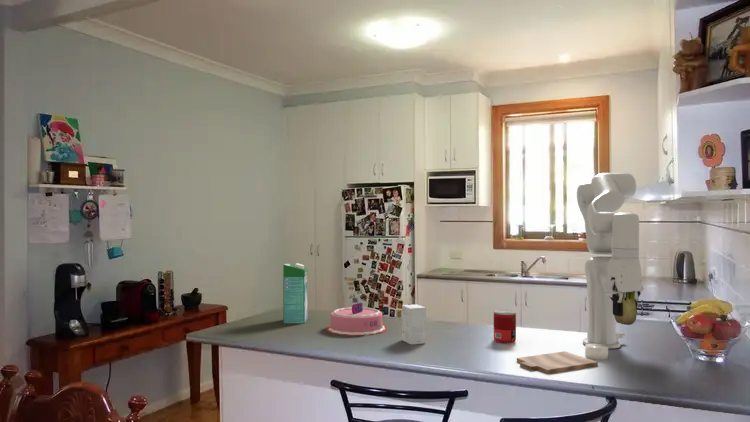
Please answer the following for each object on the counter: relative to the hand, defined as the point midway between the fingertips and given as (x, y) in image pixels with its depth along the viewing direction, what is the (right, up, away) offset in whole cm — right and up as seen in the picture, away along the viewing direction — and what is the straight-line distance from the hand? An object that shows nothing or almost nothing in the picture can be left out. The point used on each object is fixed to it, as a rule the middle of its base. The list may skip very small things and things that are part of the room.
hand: (624, 314), depth 165 cm
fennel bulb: (0, -3, 0) cm, 3 cm away
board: (-19, -17, +7) cm, 27 cm away
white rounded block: (-2, -17, +16) cm, 24 cm away
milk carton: (-109, -17, +72) cm, 132 cm away
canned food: (-27, -17, +38) cm, 49 cm away
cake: (-82, -17, +58) cm, 102 cm away
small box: (-61, -17, +36) cm, 73 cm away
